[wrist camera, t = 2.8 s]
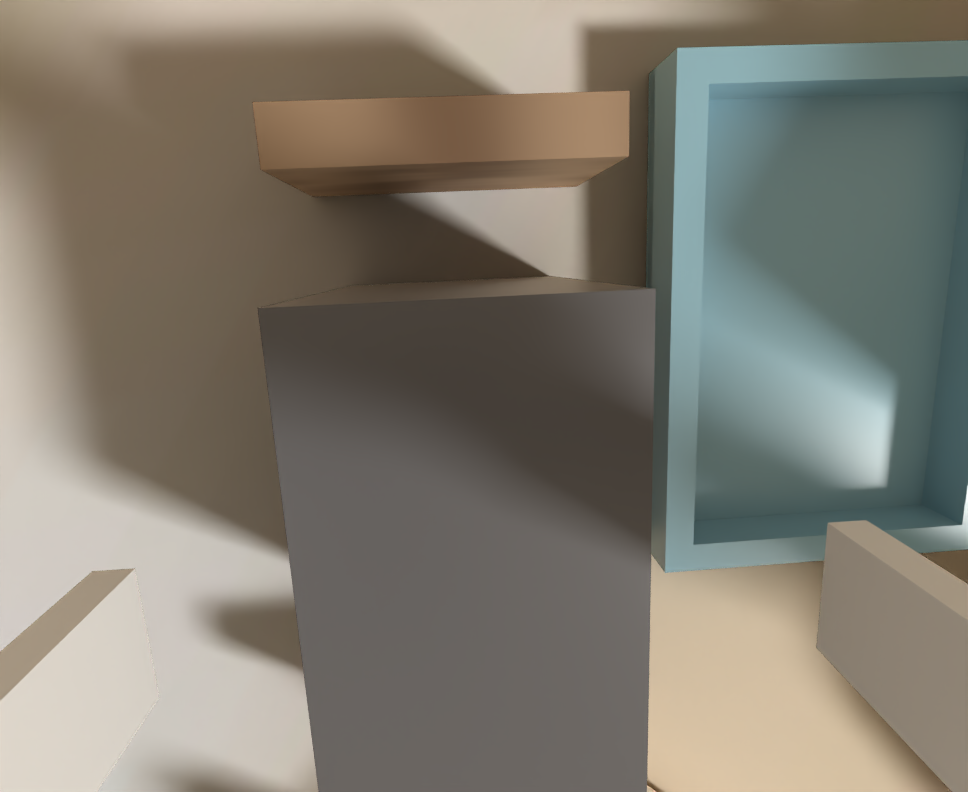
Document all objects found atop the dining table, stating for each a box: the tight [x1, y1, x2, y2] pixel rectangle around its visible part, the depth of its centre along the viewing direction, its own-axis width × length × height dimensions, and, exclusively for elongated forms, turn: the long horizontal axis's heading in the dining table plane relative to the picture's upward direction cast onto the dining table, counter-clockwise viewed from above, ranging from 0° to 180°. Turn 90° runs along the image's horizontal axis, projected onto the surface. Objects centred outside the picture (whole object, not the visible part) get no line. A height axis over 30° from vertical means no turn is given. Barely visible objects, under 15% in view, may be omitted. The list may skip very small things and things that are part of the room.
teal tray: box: [646, 40, 968, 573], centre depth 21 cm, size 12×17×2 cm
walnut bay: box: [252, 91, 630, 197], centre depth 20 cm, size 9×21×6 cm, turn 3°
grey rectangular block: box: [258, 276, 656, 792], centre depth 17 cm, size 7×12×11 cm, turn 3°
